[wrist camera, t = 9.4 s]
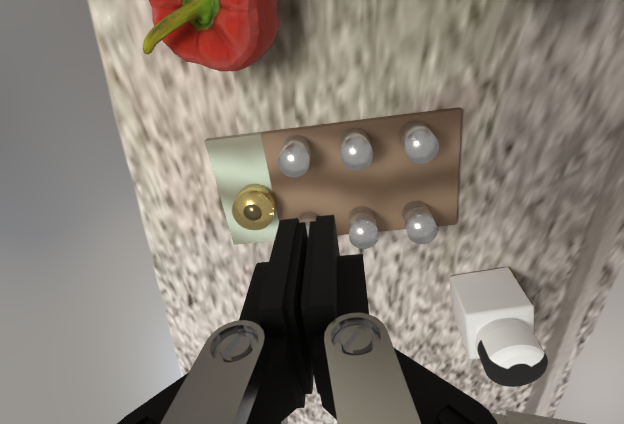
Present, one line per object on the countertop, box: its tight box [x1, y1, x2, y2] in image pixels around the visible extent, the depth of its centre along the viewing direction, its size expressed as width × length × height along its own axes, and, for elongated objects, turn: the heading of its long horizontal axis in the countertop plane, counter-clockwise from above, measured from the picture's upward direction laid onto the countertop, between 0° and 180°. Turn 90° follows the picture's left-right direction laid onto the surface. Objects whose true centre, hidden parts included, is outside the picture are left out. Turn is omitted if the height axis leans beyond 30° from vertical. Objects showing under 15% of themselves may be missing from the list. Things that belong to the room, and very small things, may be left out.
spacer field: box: [278, 120, 439, 249], centre depth 40 cm, size 12×15×4 cm
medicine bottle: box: [450, 267, 548, 387], centre depth 44 cm, size 7×7×12 cm
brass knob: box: [232, 184, 277, 230], centre depth 42 cm, size 4×4×2 cm
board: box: [205, 108, 461, 244], centre depth 42 cm, size 13×26×1 cm, turn 98°
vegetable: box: [143, 0, 279, 71], centre depth 30 cm, size 11×10×10 cm
